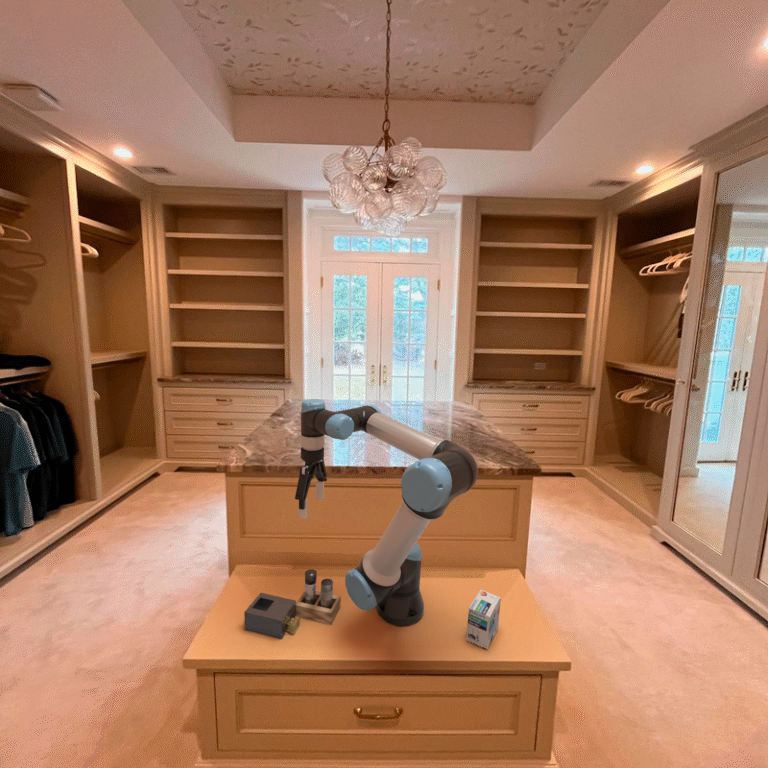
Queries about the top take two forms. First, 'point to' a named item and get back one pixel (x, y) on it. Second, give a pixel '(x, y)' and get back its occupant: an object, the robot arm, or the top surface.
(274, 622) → the socket block
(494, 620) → the light bulb box
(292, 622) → the yellow rectangular block
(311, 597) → the grey peg
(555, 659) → the top surface
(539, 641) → the top surface
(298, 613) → the rack
